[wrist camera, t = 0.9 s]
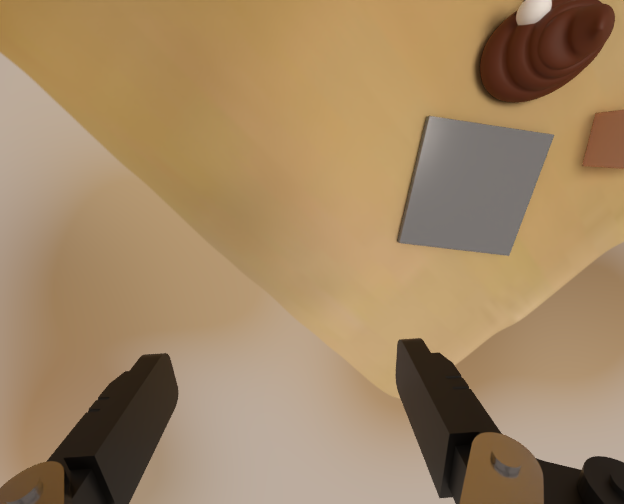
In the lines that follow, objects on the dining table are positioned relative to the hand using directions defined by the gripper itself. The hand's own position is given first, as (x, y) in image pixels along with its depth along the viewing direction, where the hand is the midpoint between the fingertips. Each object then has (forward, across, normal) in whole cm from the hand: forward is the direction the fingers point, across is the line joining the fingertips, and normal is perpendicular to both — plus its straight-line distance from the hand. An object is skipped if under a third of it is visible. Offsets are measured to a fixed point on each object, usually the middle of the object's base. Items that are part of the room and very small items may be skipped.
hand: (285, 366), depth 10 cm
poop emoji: (+26, -24, -15) cm, 38 cm away
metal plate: (+26, -20, -1) cm, 33 cm away
